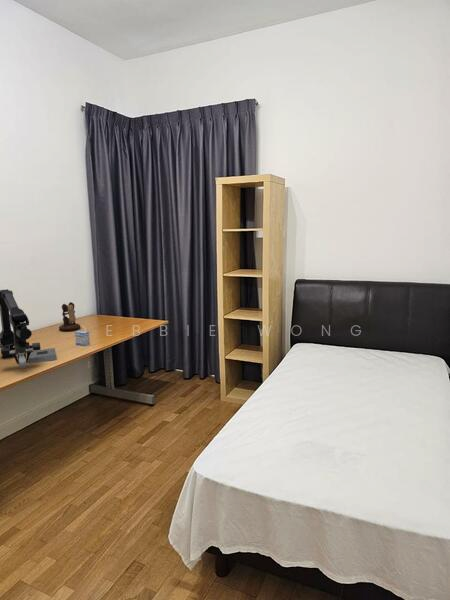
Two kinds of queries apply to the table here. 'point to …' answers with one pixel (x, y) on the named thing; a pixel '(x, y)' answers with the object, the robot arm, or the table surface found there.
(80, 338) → the medicine box
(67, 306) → the brown figurine
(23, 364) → the silver flanged peg
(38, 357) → the socket block
